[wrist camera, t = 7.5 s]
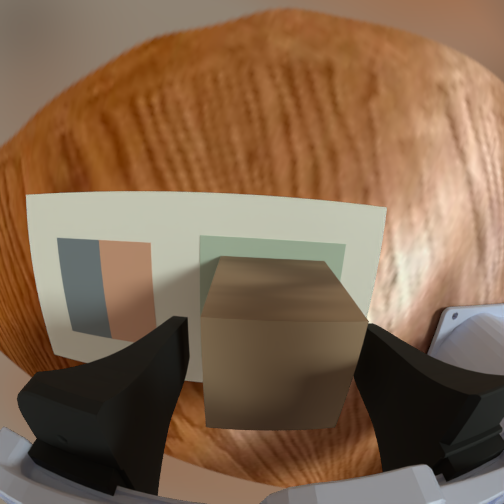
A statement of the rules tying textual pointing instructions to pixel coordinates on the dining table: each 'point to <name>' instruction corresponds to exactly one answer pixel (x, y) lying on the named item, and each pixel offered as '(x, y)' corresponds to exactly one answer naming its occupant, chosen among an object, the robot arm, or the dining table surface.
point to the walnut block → (277, 344)
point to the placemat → (176, 257)
